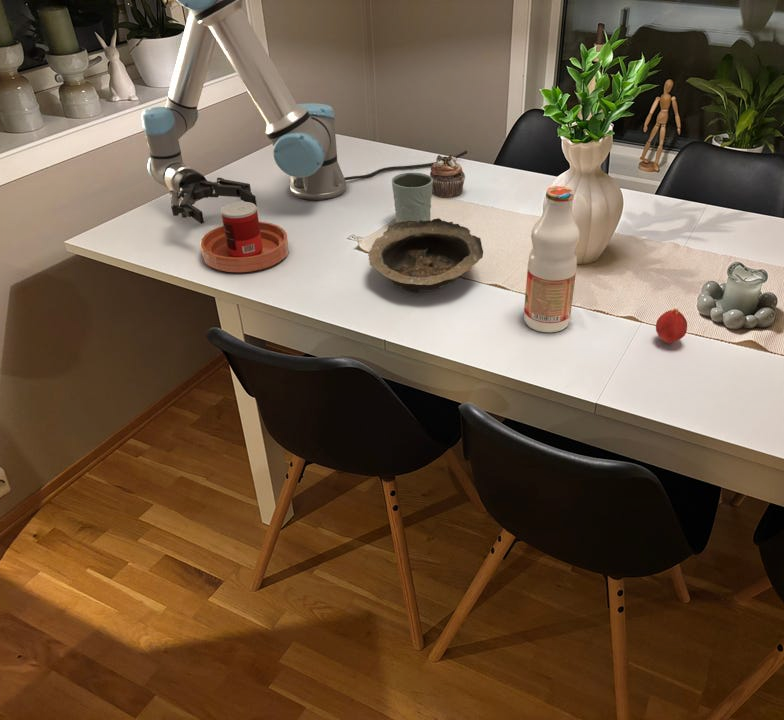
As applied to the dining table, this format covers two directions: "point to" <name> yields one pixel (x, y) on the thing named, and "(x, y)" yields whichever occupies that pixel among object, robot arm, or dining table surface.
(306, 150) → the robot arm
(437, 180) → the cupcake
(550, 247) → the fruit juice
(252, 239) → the canned food
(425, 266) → the stone bowl
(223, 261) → the bowl
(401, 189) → the green embossed cup
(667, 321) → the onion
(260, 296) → the dining table surface
